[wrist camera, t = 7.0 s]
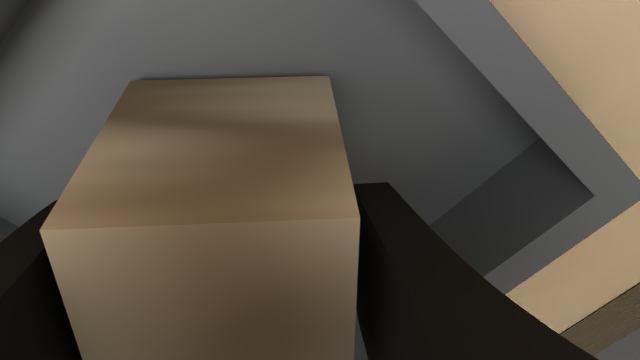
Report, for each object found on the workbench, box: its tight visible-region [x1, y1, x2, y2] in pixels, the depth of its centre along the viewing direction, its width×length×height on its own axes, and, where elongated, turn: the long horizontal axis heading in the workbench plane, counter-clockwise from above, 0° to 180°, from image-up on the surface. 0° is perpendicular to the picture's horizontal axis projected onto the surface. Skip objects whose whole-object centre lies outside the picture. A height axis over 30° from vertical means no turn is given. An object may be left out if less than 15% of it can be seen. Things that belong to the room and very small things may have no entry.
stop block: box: [39, 76, 360, 360], centre depth 10 cm, size 4×4×5 cm
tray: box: [0, 0, 640, 360], centre depth 12 cm, size 12×12×3 cm
